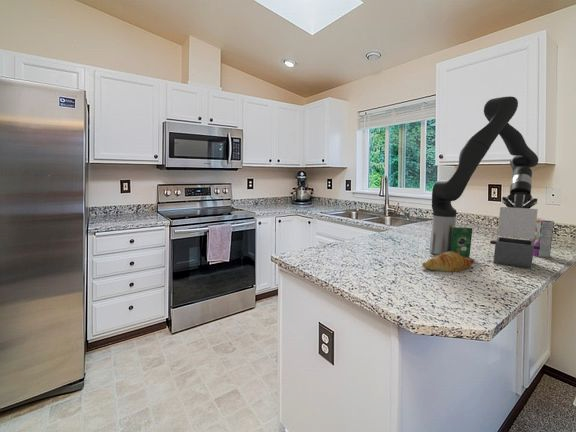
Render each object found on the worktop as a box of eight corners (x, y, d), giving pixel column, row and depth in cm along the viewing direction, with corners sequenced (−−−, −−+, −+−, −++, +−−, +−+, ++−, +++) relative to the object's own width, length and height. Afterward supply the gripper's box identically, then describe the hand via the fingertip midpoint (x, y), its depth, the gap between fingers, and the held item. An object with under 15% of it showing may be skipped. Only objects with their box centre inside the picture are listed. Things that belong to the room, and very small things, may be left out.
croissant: (426, 281, 110) (434, 265, 105) (412, 262, 118) (419, 246, 113) (476, 276, 114) (486, 261, 110) (459, 258, 122) (468, 243, 118)
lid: (501, 192, 129) (502, 193, 130) (497, 235, 130) (497, 235, 131) (539, 194, 121) (539, 194, 123) (534, 239, 122) (534, 239, 123)
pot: (487, 262, 123) (489, 240, 122) (490, 256, 132) (492, 236, 131) (538, 270, 113) (541, 246, 112) (536, 263, 123) (539, 241, 121)
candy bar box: (522, 251, 143) (526, 216, 141) (535, 251, 142) (539, 217, 140) (537, 257, 132) (541, 220, 130) (550, 258, 131) (555, 220, 129)
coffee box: (465, 255, 133) (467, 226, 132) (470, 257, 131) (473, 227, 129) (449, 256, 132) (452, 226, 130) (454, 258, 129) (457, 228, 127)
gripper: (503, 180, 138) (498, 208, 130) (540, 180, 130) (538, 211, 122) (502, 191, 142) (498, 219, 134) (538, 192, 134) (536, 222, 126)
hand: (517, 215), depth 128 cm, fingers closed
